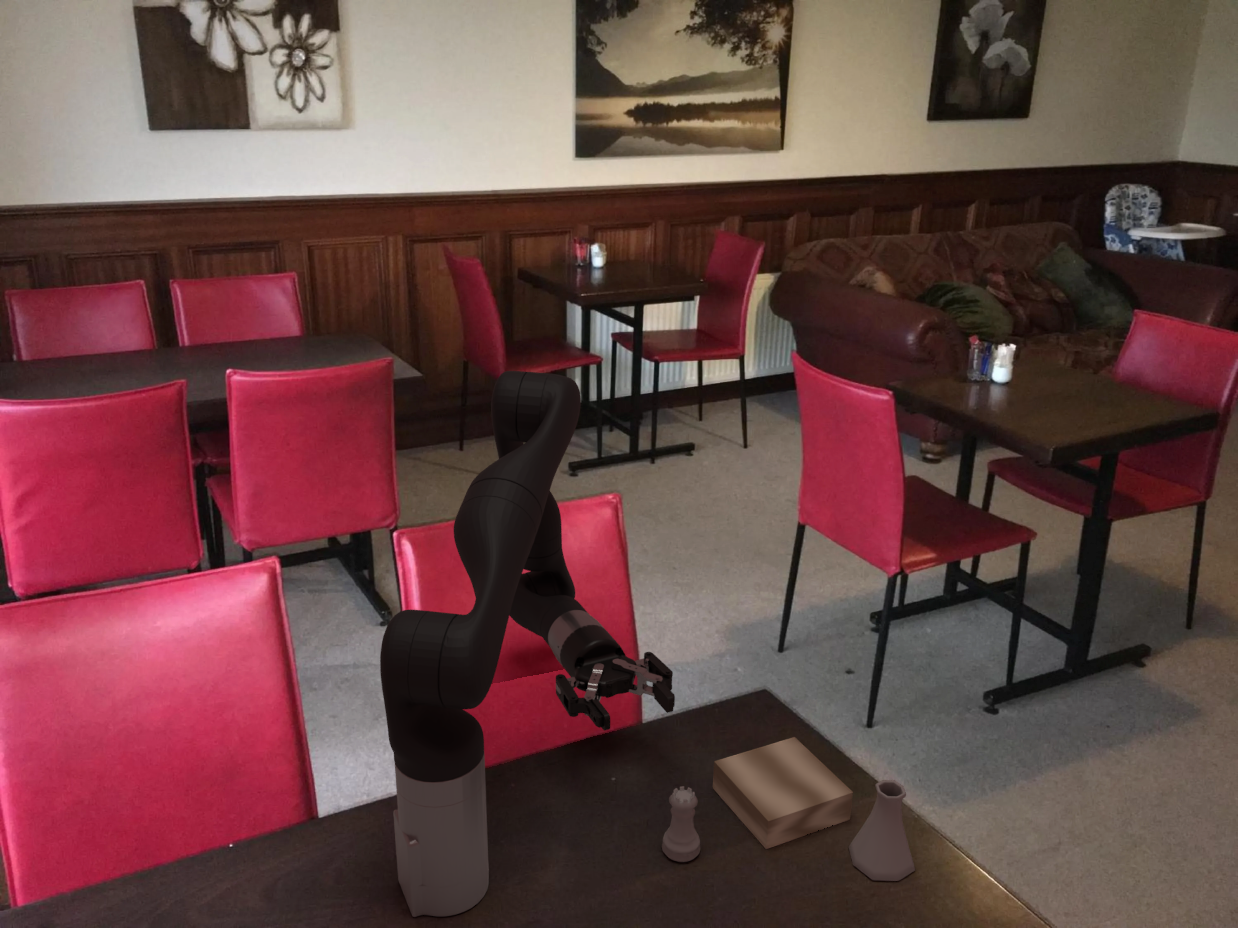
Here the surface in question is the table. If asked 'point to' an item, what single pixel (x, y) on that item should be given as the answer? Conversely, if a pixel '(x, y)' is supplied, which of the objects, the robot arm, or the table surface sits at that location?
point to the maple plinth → (781, 792)
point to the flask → (883, 837)
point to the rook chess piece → (682, 827)
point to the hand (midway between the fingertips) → (639, 714)
